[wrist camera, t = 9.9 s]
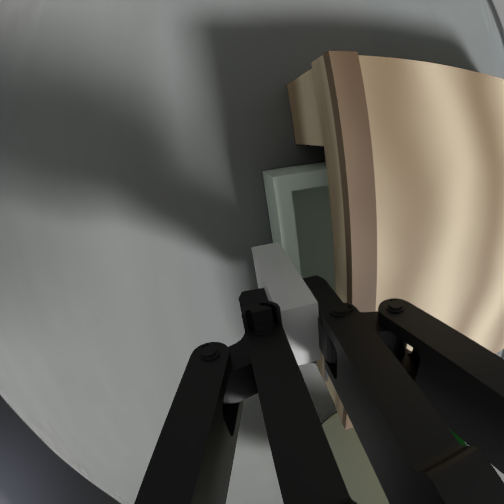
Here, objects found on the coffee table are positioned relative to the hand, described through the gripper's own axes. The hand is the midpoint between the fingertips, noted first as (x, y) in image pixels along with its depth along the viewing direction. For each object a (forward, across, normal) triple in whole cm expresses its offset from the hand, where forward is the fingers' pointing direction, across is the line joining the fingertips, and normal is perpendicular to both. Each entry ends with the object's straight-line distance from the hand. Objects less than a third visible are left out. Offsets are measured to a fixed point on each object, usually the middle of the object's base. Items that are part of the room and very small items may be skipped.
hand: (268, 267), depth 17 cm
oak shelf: (+2, +12, 0) cm, 12 cm away
